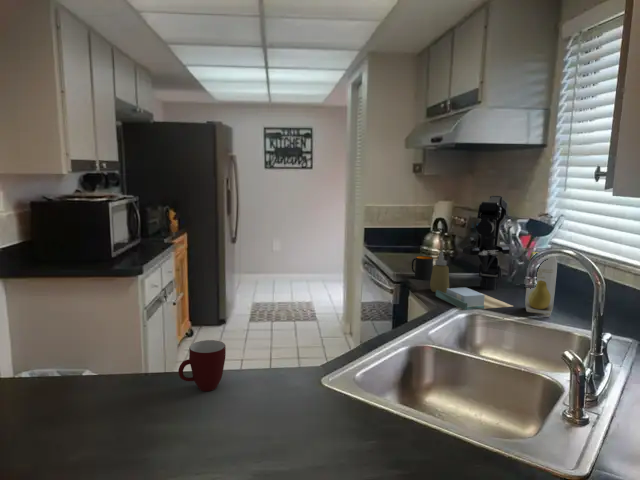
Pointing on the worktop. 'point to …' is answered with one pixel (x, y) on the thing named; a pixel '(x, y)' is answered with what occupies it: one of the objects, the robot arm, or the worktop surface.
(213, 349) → the mug
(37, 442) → the worktop surface
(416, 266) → the mug
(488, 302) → the display board
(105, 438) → the worktop surface
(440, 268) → the squeeze bottle
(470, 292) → the carton
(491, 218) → the robot arm
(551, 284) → the juice carton
